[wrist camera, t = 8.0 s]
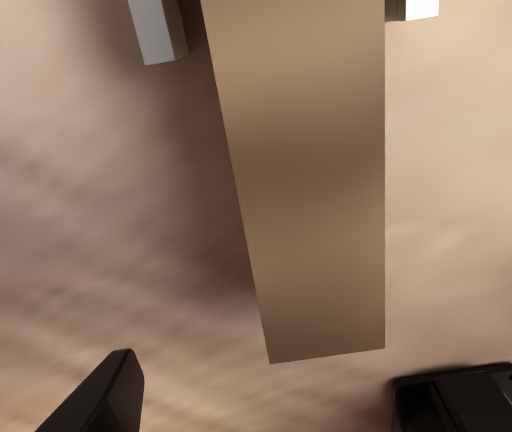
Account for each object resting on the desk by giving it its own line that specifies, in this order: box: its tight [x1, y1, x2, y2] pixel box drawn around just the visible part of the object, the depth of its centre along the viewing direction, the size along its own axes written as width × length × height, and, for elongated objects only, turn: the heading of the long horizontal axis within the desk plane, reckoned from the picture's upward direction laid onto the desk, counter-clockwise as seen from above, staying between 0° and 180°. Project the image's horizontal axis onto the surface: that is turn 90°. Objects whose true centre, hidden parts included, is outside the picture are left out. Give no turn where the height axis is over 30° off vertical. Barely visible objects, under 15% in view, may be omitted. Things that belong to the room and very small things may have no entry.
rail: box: [200, 0, 385, 364], centre depth 12 cm, size 14×4×4 cm, turn 9°
